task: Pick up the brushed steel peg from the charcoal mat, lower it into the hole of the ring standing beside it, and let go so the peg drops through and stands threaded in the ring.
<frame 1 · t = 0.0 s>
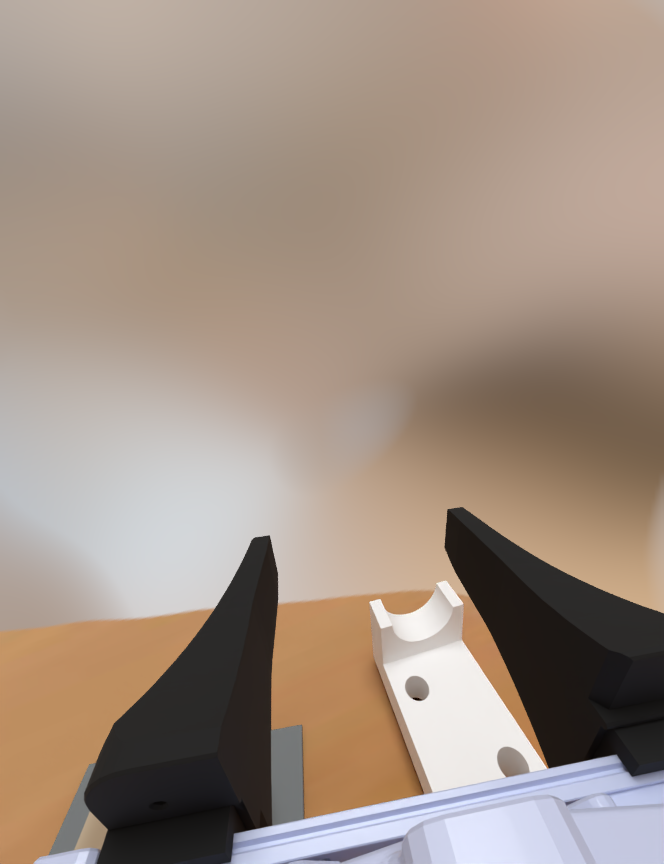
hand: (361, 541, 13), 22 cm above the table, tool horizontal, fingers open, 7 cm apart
ring: (187, 862, 20), resting on mat
bracket: (448, 734, 25), on the table
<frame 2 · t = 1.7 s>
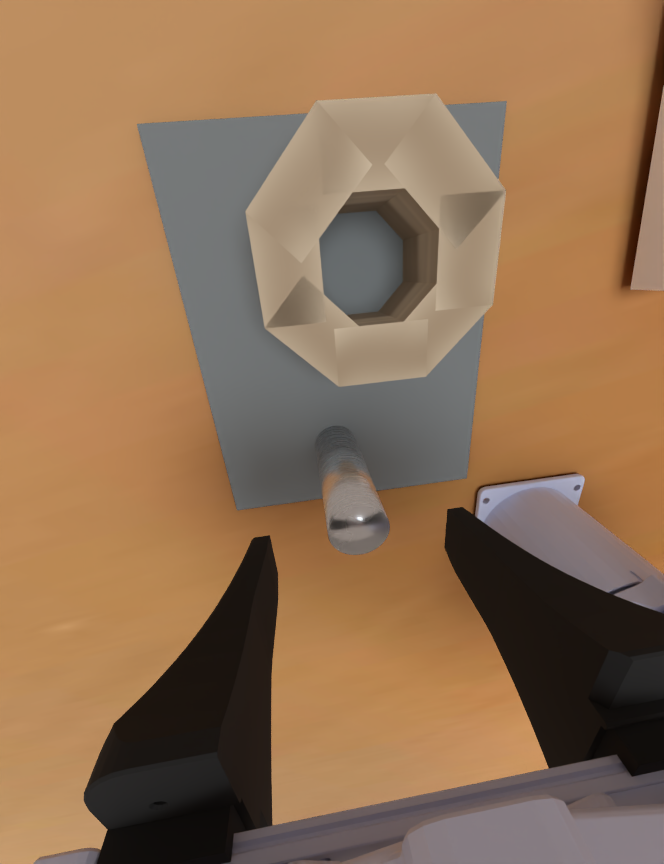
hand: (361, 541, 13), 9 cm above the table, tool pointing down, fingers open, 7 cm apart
mat: (343, 346, 19), on the table
ring: (358, 265, 17), resting on mat
peg: (335, 444, 21), resting on mat
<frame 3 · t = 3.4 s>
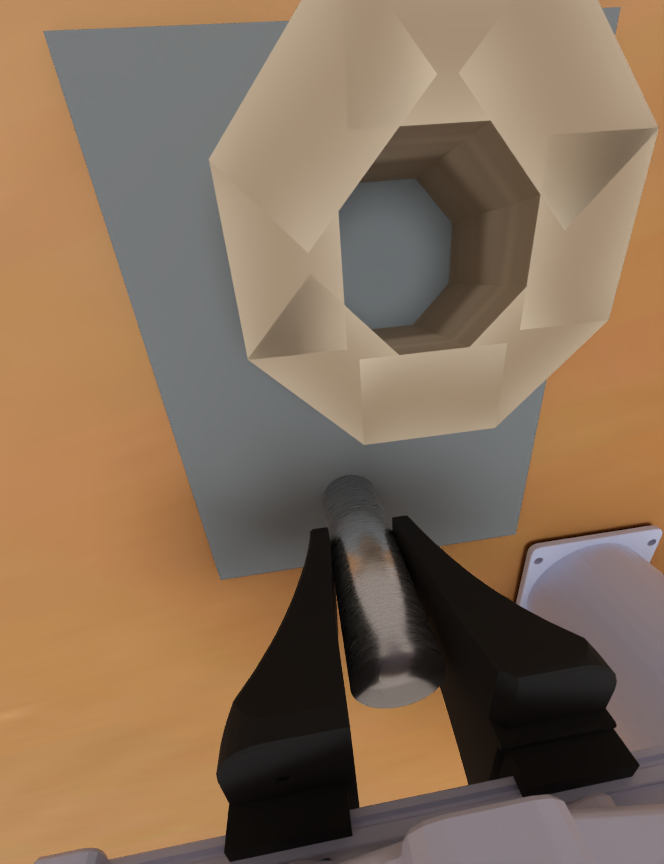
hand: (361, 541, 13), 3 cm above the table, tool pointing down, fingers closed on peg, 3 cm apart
mat: (363, 371, 14), on the table
ring: (387, 260, 12), resting on mat
peg: (349, 497, 16), resting on mat, touching gripper
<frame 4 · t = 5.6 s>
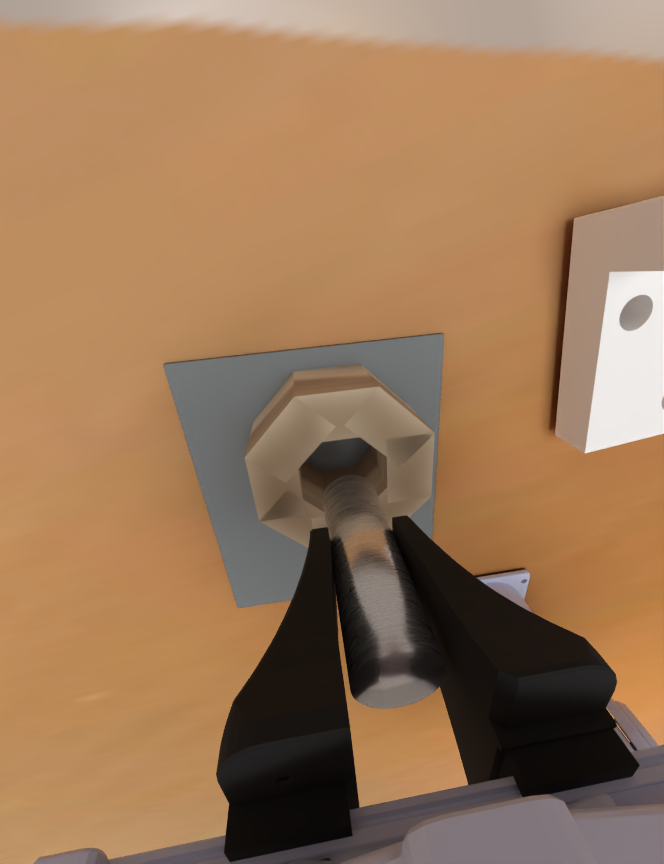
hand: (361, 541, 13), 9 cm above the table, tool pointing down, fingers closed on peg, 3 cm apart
mat: (323, 490, 23), on the table
ring: (333, 440, 22), resting on mat
bracket: (603, 325, 21), on the table
peg: (349, 497, 16), point 6 cm above the table, touching gripper
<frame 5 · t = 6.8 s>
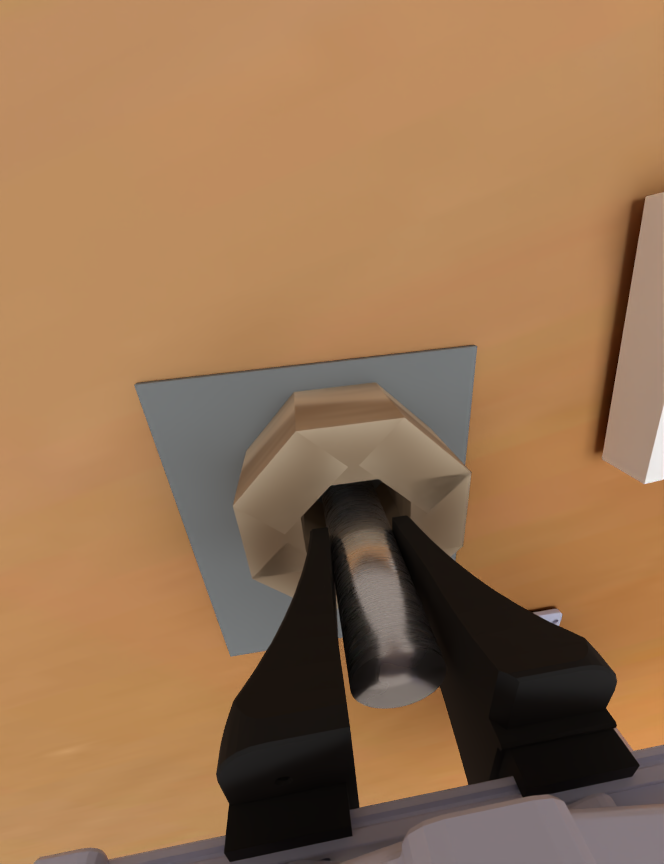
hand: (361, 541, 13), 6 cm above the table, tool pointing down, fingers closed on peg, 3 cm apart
mat: (329, 527, 20), on the table
ring: (342, 471, 18), resting on mat
peg: (349, 497, 16), point 3 cm above the table, touching gripper
when the fingers open (6 cm above the table, at t = 7.7 s): peg drops 2 cm, resting on mat.
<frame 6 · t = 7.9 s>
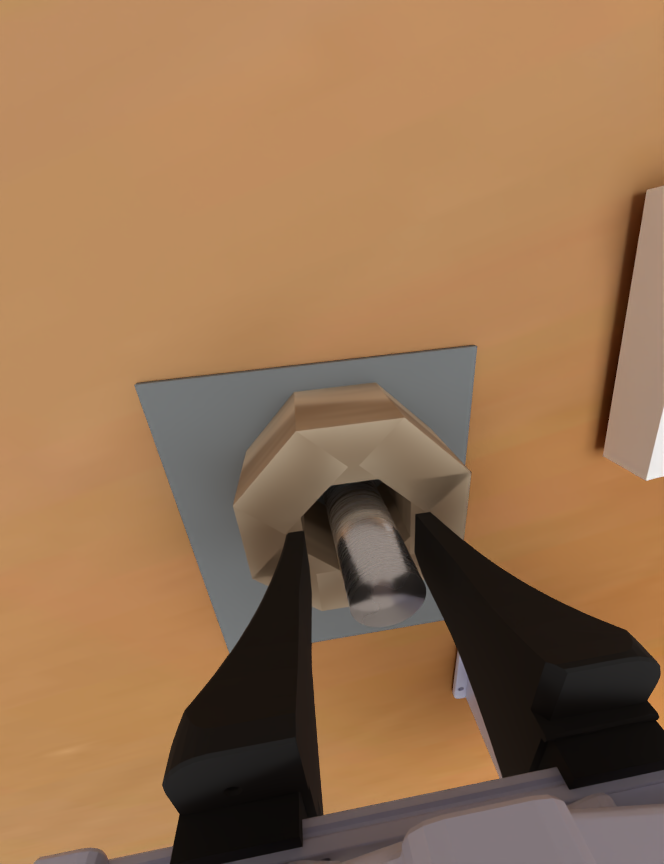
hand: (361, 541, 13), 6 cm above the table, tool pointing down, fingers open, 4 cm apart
mat: (329, 527, 20), on the table
ring: (342, 471, 18), resting on mat
peg: (342, 472, 18), resting on mat
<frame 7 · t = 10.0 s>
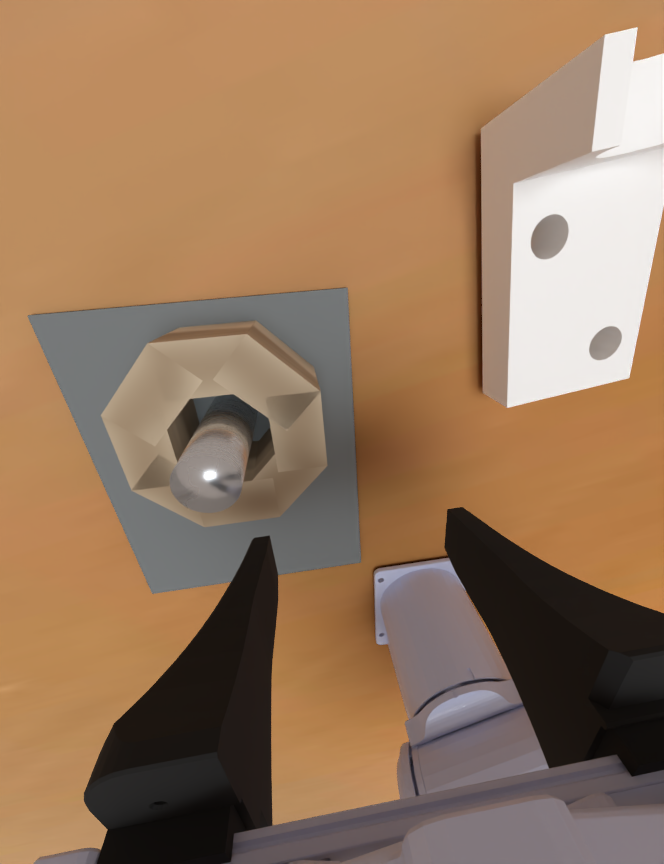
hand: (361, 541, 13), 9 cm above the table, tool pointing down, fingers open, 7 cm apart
mat: (233, 465, 22), on the table
ring: (236, 408, 20), resting on mat
bracket: (531, 266, 19), on the table
peg: (235, 408, 20), resting on mat
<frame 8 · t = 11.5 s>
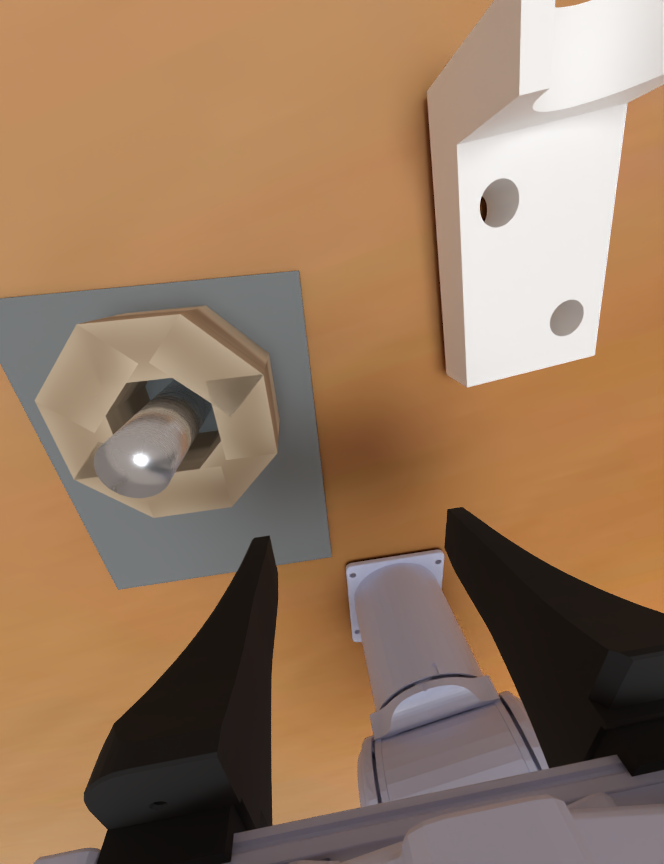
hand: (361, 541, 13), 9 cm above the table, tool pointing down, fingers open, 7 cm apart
mat: (193, 456, 21), on the table
ring: (191, 396, 19), resting on mat
bracket: (491, 241, 18), on the table
peg: (191, 396, 19), resting on mat
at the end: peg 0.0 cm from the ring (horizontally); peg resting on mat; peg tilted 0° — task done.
